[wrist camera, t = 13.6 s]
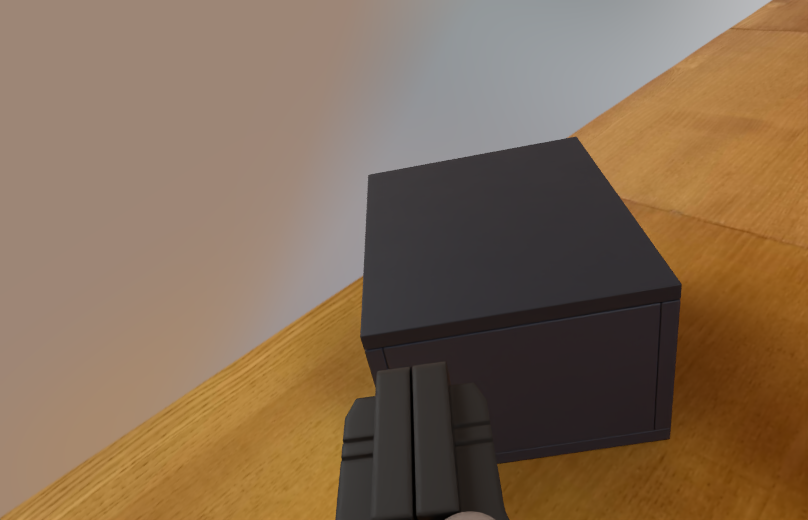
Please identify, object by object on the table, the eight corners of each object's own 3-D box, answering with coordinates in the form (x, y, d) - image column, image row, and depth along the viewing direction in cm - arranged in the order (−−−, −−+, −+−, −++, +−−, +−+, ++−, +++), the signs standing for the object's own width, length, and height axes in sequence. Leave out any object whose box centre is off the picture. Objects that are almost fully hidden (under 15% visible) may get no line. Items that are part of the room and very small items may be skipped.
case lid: (370, 185, 40) (368, 174, 40) (576, 147, 39) (576, 136, 39) (364, 350, 27) (360, 336, 26) (681, 299, 26) (682, 284, 25)
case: (396, 297, 44) (370, 191, 40) (583, 266, 43) (580, 152, 39) (401, 478, 31) (364, 351, 27) (670, 439, 30) (681, 300, 26)
